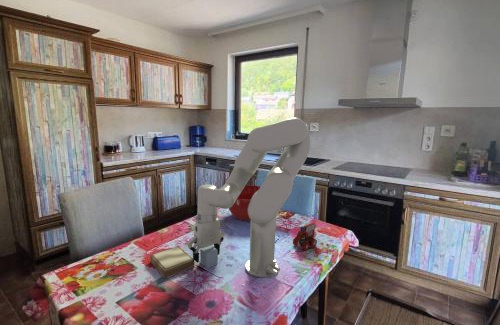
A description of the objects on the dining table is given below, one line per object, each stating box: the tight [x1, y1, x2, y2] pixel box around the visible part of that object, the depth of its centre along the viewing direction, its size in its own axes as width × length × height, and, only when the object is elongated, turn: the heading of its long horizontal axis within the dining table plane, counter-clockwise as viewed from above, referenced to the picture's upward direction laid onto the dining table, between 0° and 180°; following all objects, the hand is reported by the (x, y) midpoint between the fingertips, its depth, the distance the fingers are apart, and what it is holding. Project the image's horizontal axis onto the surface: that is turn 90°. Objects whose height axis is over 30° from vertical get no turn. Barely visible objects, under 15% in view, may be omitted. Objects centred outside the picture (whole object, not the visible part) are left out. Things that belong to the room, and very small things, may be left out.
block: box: [199, 245, 219, 268], centre depth 105 cm, size 5×5×6 cm
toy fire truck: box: [292, 222, 318, 251], centre depth 120 cm, size 7×12×10 cm, turn 128°
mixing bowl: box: [228, 184, 261, 222], centre depth 154 cm, size 28×28×15 cm
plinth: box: [149, 245, 195, 279], centre depth 104 cm, size 14×12×3 cm
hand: (206, 256), depth 105 cm, fingers open, 9 cm apart
